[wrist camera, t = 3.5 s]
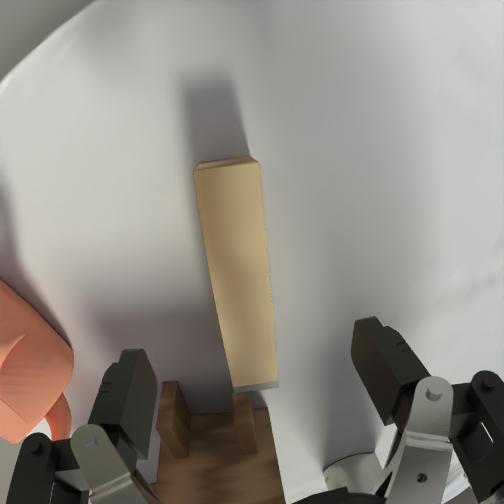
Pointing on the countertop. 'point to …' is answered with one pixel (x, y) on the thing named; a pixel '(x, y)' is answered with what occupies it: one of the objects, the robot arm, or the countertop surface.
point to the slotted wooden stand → (216, 454)
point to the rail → (239, 267)
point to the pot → (31, 371)
